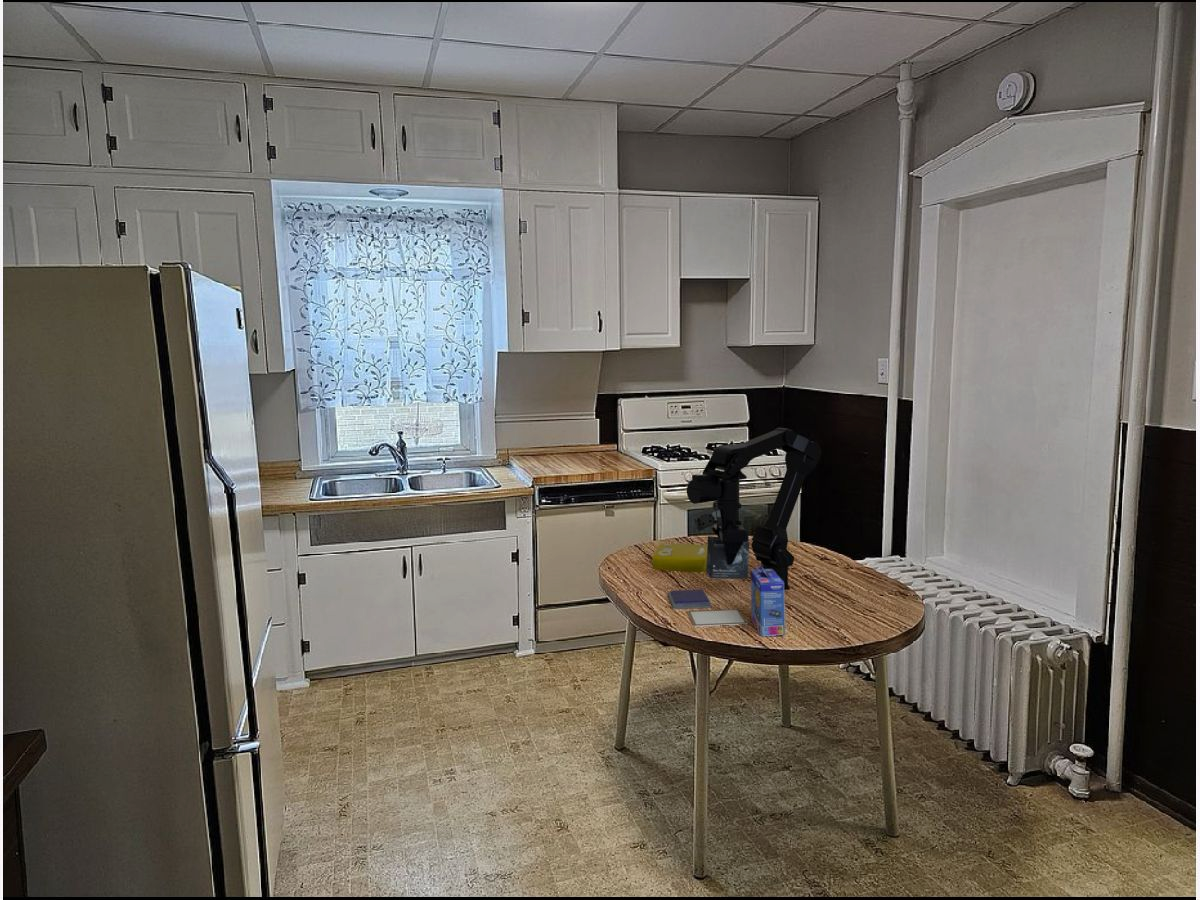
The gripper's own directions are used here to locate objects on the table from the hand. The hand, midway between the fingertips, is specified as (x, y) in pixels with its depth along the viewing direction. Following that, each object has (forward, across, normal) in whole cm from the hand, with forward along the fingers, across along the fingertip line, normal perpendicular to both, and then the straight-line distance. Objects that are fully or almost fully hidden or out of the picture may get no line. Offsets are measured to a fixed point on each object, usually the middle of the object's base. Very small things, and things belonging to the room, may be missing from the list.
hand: (727, 560), depth 185 cm
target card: (+9, +13, -5) cm, 17 cm away
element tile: (+10, -30, -7) cm, 32 cm away
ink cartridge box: (+10, +20, +4) cm, 23 cm away
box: (+4, 0, 0) cm, 4 cm away
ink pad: (+9, +2, -10) cm, 14 cm away
